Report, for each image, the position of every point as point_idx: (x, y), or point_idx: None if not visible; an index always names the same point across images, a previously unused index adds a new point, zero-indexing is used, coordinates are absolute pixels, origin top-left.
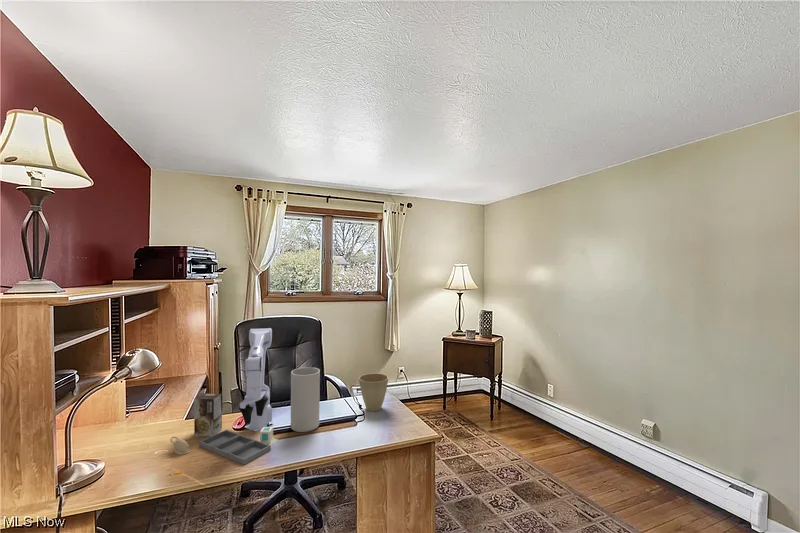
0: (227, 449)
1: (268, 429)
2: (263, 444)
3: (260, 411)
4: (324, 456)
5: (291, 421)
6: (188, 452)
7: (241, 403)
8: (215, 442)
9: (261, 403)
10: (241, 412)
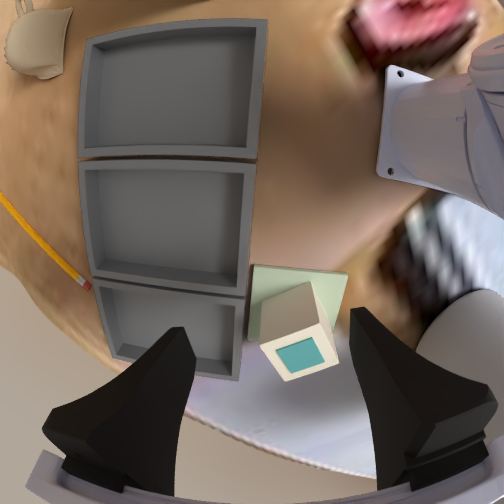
0: (137, 199)
1: (298, 367)
2: (233, 351)
3: (361, 368)
4: (285, 456)
5: (448, 342)
6: (47, 77)
7: (39, 495)
8: (155, 71)
9: (381, 443)
10: (96, 393)
